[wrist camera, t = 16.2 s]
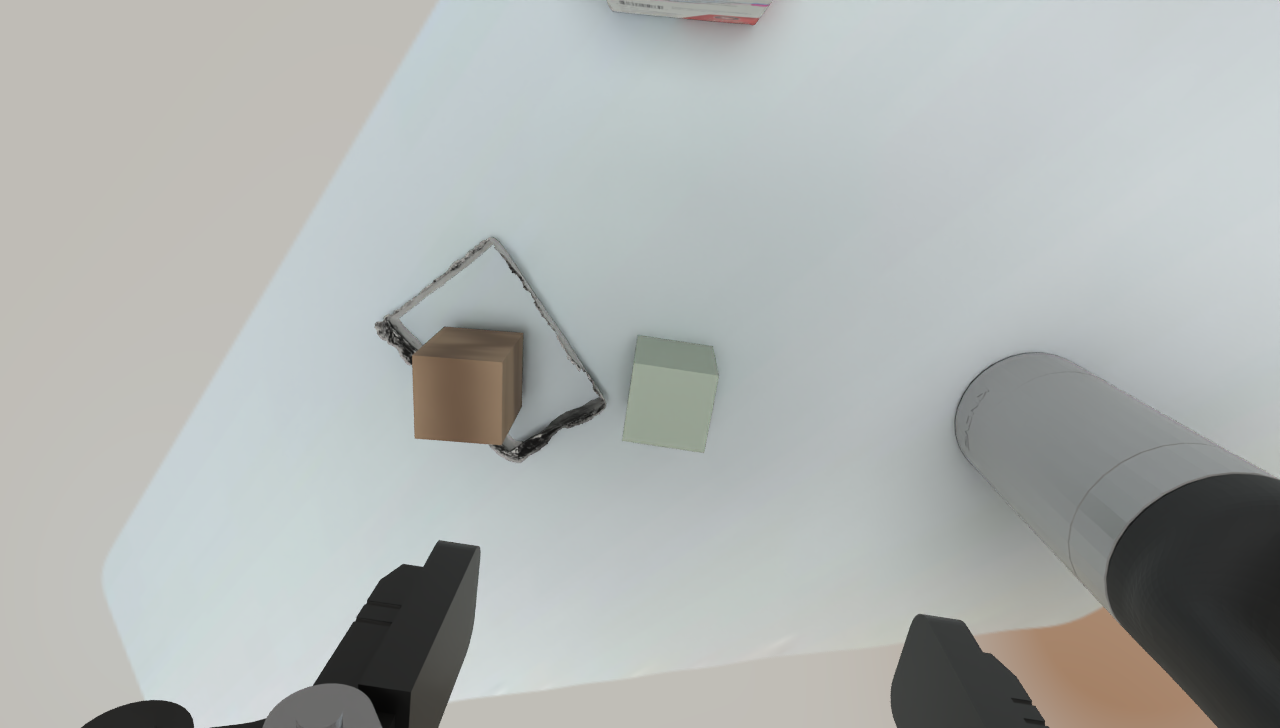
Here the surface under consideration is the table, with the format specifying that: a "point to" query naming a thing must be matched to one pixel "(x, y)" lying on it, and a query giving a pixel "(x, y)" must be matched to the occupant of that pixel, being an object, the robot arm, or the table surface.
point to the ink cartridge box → (696, 9)
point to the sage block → (671, 394)
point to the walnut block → (467, 385)
